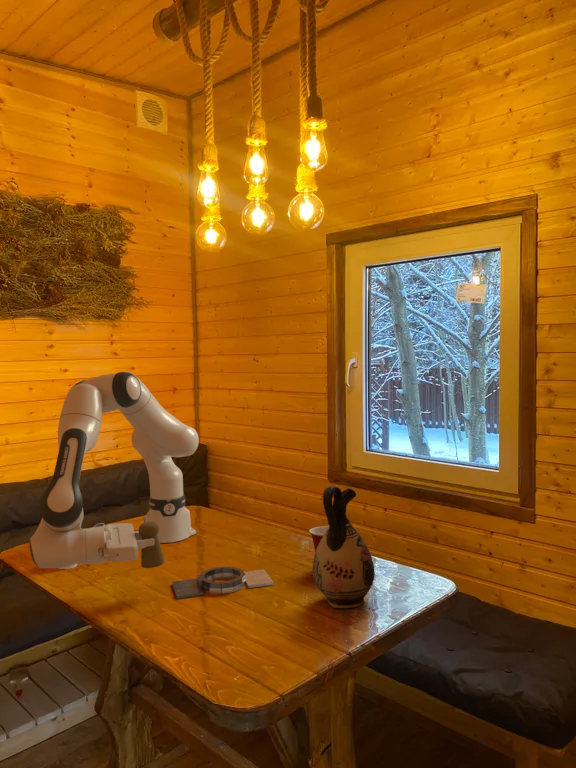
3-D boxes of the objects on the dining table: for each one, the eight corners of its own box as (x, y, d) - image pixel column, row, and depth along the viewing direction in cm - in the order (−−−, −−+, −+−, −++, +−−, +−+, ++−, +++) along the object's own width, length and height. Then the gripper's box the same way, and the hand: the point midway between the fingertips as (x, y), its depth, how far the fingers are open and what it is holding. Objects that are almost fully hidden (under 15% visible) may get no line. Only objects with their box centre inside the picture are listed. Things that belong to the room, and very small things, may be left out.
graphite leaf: (171, 583, 170) (171, 573, 170) (239, 574, 176) (238, 564, 176) (177, 600, 159) (177, 589, 159) (249, 589, 165) (249, 579, 164)
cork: (169, 560, 164) (164, 520, 163) (153, 569, 159) (148, 527, 157) (152, 557, 167) (147, 518, 166) (136, 566, 162) (131, 525, 161)
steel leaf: (197, 579, 172) (197, 575, 172) (262, 570, 178) (262, 566, 178) (204, 596, 161) (204, 591, 161) (274, 586, 167) (274, 581, 167)
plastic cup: (344, 562, 184) (343, 522, 183) (350, 575, 173) (350, 533, 172) (308, 563, 183) (307, 524, 182) (312, 577, 172) (311, 535, 171)
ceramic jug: (333, 584, 167) (331, 475, 165) (385, 597, 158) (383, 481, 156) (297, 607, 153) (295, 488, 151) (352, 623, 144) (350, 496, 142)
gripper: (98, 545, 148) (157, 538, 152) (97, 521, 167) (149, 516, 172) (99, 571, 149) (158, 563, 153) (98, 544, 168) (150, 538, 172)
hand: (153, 538), depth 162 cm, fingers closed on cork, 4 cm apart
